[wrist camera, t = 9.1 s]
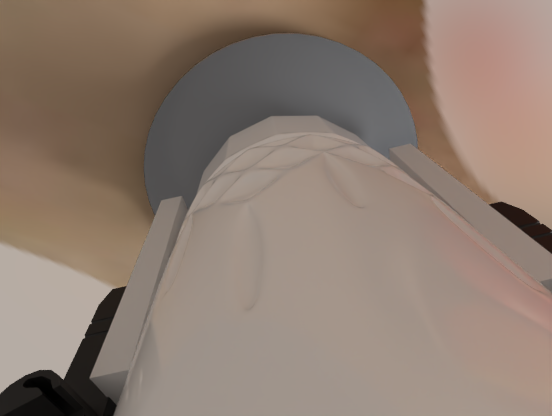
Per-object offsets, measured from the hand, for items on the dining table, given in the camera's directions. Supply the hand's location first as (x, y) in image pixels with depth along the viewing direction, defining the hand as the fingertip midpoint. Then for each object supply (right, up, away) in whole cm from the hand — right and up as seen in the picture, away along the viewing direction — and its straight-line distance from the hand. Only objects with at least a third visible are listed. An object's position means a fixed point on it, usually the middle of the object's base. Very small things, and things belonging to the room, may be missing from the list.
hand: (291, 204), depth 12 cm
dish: (0, +1, +2) cm, 3 cm away
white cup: (0, 0, 0) cm, 1 cm away
